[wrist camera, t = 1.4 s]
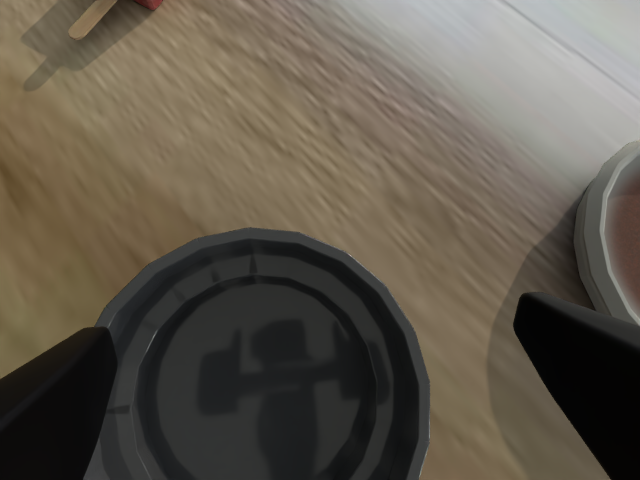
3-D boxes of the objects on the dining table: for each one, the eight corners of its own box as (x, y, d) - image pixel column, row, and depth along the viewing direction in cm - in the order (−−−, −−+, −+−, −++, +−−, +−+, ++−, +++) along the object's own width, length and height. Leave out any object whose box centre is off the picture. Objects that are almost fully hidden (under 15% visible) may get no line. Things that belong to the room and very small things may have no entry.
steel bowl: (434, 497, 21) (475, 541, 17) (131, 602, 19) (87, 686, 14) (359, 223, 24) (377, 200, 20) (91, 280, 22) (45, 268, 17)
